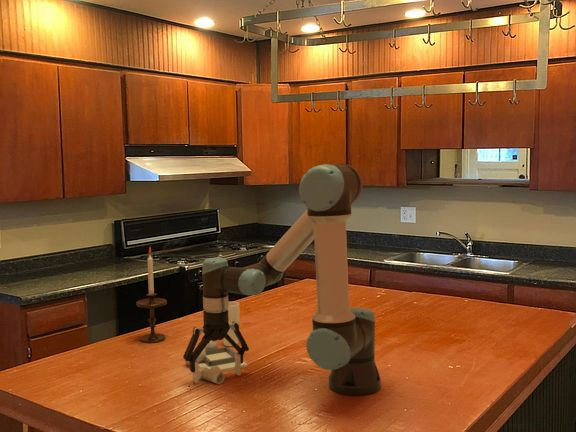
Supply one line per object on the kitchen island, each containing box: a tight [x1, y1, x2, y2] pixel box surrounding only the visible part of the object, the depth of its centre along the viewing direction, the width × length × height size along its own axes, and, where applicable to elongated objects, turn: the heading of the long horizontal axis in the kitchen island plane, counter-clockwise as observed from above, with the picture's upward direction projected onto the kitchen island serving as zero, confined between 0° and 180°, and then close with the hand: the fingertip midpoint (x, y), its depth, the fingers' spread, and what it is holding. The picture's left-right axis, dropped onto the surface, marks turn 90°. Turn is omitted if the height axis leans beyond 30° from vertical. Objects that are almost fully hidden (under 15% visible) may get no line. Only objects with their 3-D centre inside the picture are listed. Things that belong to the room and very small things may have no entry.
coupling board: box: [184, 341, 248, 373], centre depth 199 cm, size 22×17×5 cm
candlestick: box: [136, 245, 168, 344], centre depth 222 cm, size 11×11×35 cm
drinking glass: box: [222, 301, 241, 347], centre depth 216 cm, size 7×7×15 cm
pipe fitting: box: [198, 366, 225, 385], centre depth 183 cm, size 8×4×7 cm
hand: (217, 378), depth 183 cm, fingers open, 13 cm apart
